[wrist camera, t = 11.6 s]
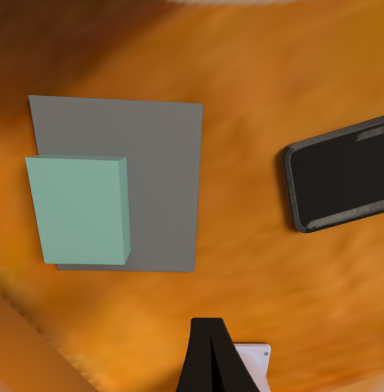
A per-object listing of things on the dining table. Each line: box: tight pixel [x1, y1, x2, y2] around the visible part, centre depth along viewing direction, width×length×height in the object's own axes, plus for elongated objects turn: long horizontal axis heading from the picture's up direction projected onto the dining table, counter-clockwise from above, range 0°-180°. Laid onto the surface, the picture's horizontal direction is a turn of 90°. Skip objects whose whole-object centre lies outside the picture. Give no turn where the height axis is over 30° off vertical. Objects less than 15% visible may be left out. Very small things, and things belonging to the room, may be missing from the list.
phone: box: [281, 116, 384, 233], centre depth 17 cm, size 8×1×15 cm
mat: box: [29, 95, 203, 272], centre depth 17 cm, size 14×12×1 cm
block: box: [25, 154, 131, 265], centre depth 16 cm, size 8×2×6 cm
